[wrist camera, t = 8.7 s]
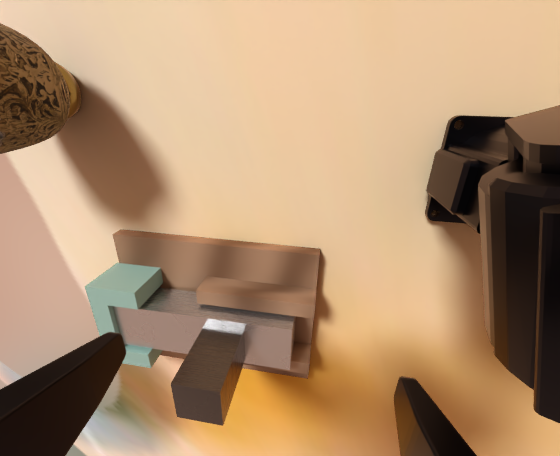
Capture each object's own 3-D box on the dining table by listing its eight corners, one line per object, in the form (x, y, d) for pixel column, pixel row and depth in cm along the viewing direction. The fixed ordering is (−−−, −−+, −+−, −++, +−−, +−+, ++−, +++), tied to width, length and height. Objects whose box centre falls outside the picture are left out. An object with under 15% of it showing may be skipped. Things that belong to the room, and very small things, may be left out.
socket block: (160, 267, 23) (134, 293, 20) (172, 336, 26) (150, 367, 23) (117, 262, 24) (84, 286, 21) (133, 330, 27) (107, 360, 24)
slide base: (319, 249, 21) (318, 269, 19) (308, 369, 27) (306, 399, 24) (120, 229, 24) (93, 245, 21) (146, 344, 29) (127, 368, 26)
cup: (77, 165, 22) (-47, 194, 15) (-2, 85, 20) (-187, 72, 13) (131, 97, 19) (10, 91, 12) (43, -1, 18) (-157, -78, 10)
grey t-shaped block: (296, 304, 22) (281, 396, 15) (293, 342, 24) (279, 441, 17) (135, 284, 24) (55, 358, 17) (143, 320, 26) (72, 401, 19)
